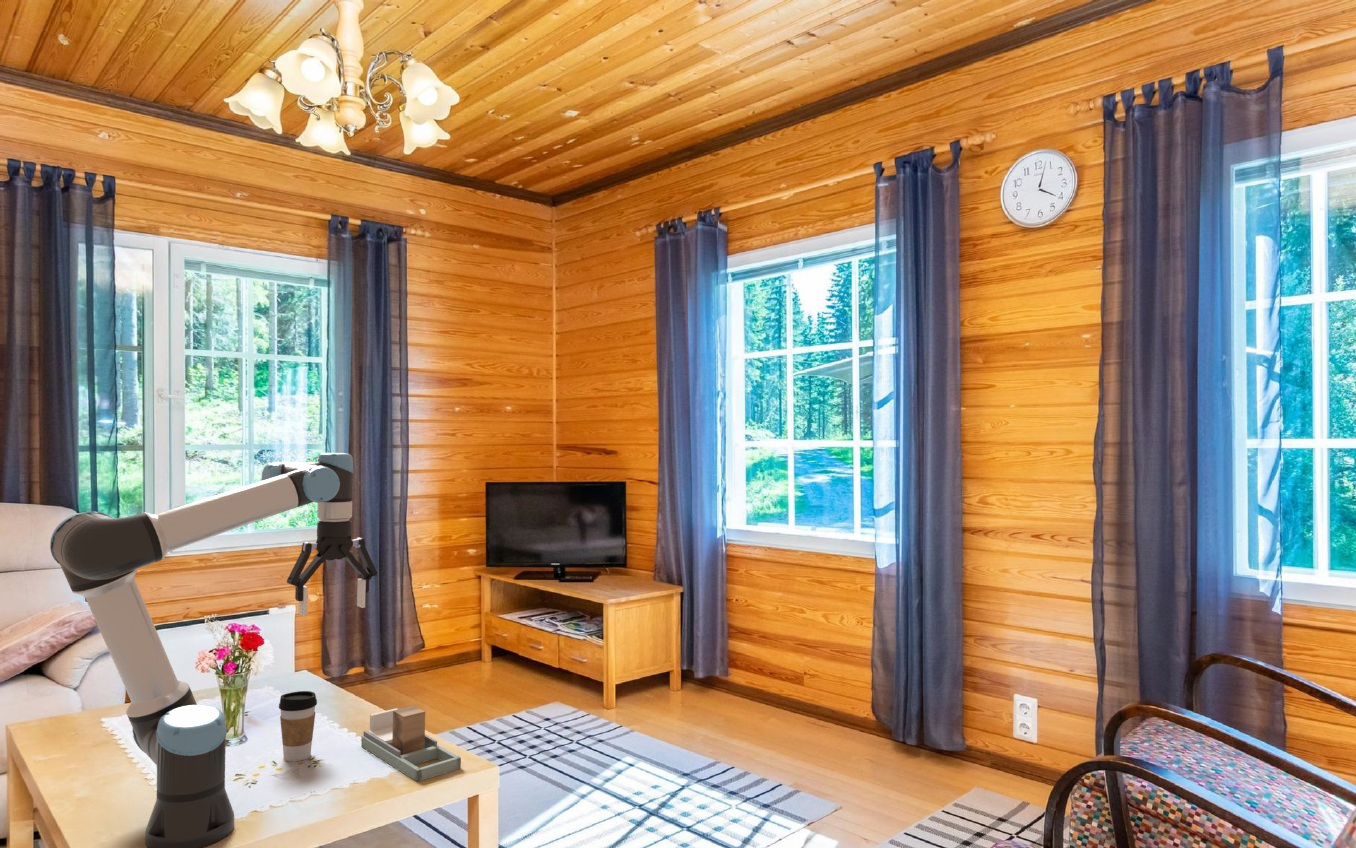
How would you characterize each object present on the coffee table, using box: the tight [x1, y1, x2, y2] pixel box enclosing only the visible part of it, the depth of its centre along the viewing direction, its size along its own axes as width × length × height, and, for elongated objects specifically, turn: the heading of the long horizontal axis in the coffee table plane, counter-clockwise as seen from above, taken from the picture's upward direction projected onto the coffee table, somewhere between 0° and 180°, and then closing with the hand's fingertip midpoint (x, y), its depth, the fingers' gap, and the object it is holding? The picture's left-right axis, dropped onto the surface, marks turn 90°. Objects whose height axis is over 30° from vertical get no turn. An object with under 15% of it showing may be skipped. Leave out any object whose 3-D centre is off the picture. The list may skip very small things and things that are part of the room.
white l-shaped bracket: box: [367, 707, 399, 744], centre depth 214 cm, size 9×8×5 cm
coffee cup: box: [278, 690, 318, 762], centre depth 207 cm, size 8×8×15 cm
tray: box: [360, 730, 462, 782], centre depth 208 cm, size 28×11×4 cm, turn 45°
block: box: [392, 705, 426, 755], centre depth 208 cm, size 6×6×11 cm
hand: (332, 611), depth 201 cm, fingers open, 13 cm apart
